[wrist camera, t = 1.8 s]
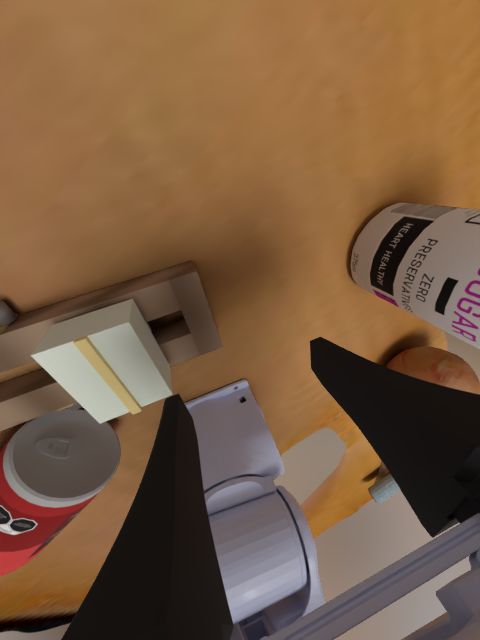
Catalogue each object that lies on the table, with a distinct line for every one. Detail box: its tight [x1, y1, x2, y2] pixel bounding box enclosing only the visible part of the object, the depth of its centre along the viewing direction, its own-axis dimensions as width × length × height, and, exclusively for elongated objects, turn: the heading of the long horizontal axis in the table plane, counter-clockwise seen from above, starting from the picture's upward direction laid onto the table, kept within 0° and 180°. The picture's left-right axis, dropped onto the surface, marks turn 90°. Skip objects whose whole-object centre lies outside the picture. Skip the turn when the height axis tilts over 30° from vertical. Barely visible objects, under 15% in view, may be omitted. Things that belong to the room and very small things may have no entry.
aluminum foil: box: [368, 473, 400, 504], centre depth 55 cm, size 23×7×3 cm, turn 130°
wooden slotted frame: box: [0, 261, 223, 431], centre depth 17 cm, size 26×10×2 cm, turn 102°
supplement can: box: [350, 202, 480, 349], centre depth 17 cm, size 8×8×15 cm
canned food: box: [0, 408, 121, 576], centre depth 19 cm, size 8×8×11 cm
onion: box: [387, 347, 480, 394], centre depth 30 cm, size 10×10×10 cm
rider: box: [31, 299, 173, 424], centre depth 16 cm, size 5×6×6 cm
